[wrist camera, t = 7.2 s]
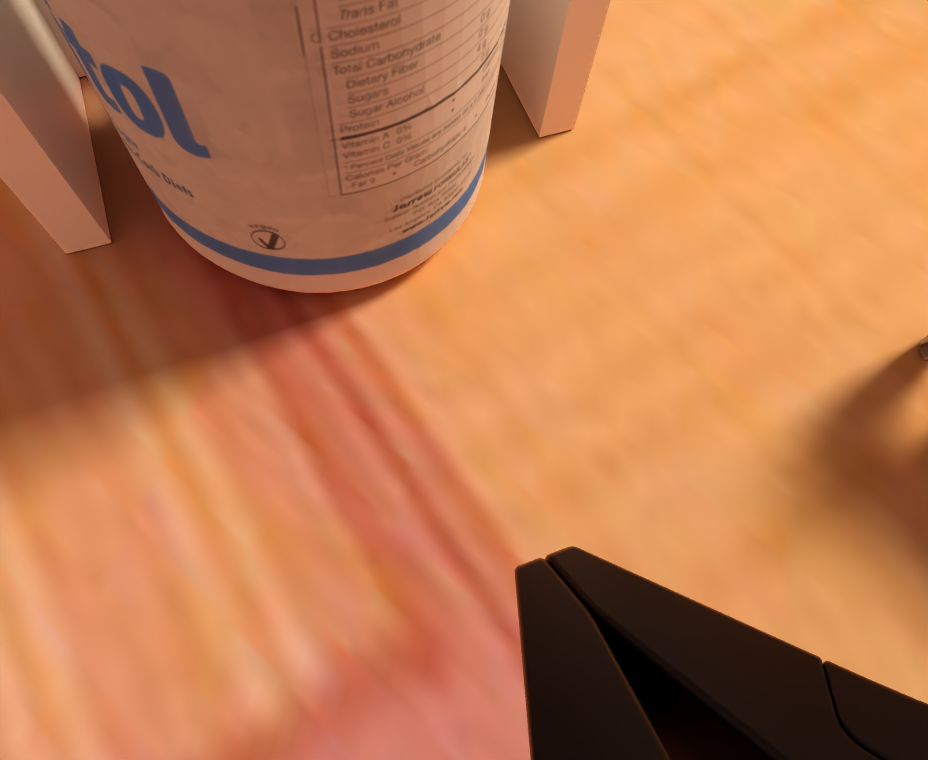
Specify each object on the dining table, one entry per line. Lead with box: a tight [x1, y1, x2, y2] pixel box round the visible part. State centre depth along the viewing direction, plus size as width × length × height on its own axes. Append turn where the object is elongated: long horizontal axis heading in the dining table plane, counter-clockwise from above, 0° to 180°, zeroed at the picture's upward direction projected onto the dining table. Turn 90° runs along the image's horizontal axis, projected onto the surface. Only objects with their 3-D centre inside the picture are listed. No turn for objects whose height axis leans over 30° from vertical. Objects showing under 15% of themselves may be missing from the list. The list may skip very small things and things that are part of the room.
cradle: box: [0, 0, 610, 254], centre depth 18 cm, size 8×15×6 cm, turn 110°
